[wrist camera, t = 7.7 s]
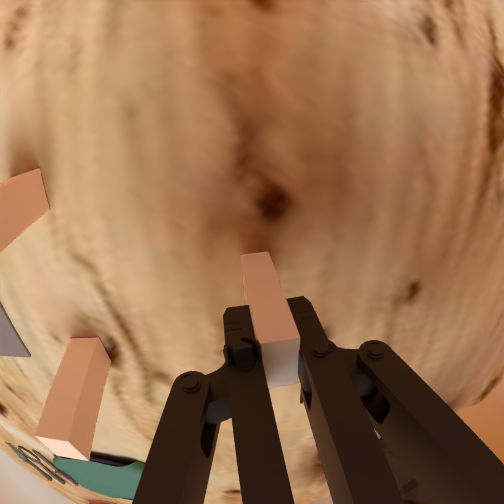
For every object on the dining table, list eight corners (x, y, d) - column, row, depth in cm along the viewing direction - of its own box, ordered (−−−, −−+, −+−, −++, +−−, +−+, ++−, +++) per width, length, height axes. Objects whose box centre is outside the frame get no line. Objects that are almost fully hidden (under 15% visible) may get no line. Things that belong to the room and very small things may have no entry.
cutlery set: (192, 494, 39) (192, 505, 37) (53, 477, 37) (51, 486, 35) (155, 452, 30) (154, 467, 28) (-7, 425, 28) (-11, 436, 26)
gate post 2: (98, 337, 20) (68, 441, 12) (111, 361, 21) (89, 460, 13) (70, 338, 19) (35, 435, 12) (84, 361, 21) (57, 455, 13)
